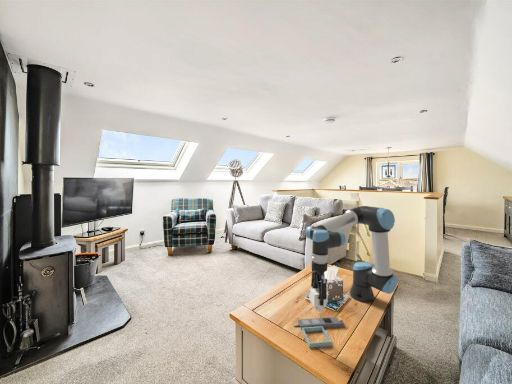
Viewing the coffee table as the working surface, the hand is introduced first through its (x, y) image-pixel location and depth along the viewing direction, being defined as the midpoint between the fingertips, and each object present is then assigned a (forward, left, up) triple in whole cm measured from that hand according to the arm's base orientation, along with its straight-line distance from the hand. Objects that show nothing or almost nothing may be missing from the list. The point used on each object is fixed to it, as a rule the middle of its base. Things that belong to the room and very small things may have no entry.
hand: (317, 306), depth 111 cm
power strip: (-4, -8, -17) cm, 19 cm away
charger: (0, 0, 0) cm, 0 cm away
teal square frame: (+1, +1, -17) cm, 17 cm away
